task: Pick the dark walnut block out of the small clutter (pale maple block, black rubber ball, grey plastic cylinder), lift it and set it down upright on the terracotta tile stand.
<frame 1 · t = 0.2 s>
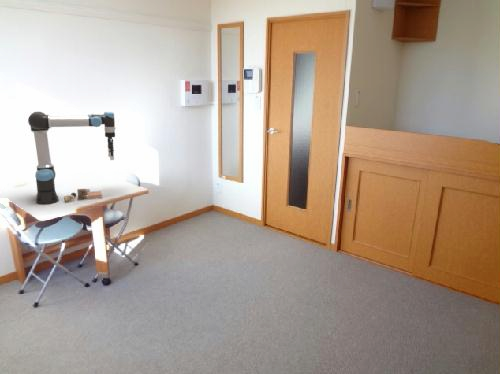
hand: (111, 158, 313), 28 cm above the table, fingers open, 13 cm apart
terracotta stand: (94, 196, 304), on the table
black rubber ball: (73, 194, 301), point 2 cm above the table
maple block: (69, 201, 292), on the table
grey plastic cylinder: (87, 194, 310), on the table
walnut block: (82, 198, 299), on the table
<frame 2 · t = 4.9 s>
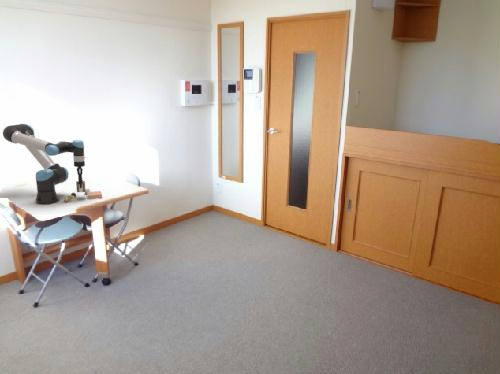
hand: (80, 190, 297), 7 cm above the table, fingers closed on walnut block, 6 cm apart
walnut block: (81, 191, 297), point 6 cm above the table, touching gripper
everything else where it was.
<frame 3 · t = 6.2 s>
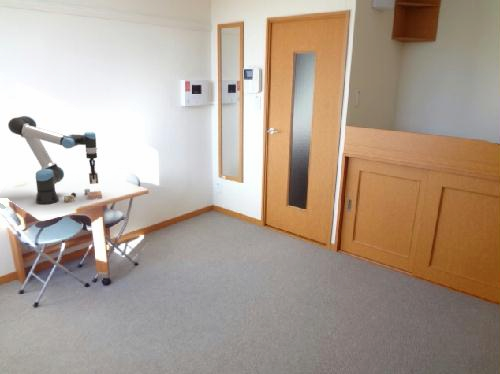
hand: (93, 182, 301), 12 cm above the table, fingers closed on walnut block, 6 cm apart
walnut block: (93, 182, 301), point 12 cm above the table, touching gripper
everything else where it was.
when the fingers open (4 cm above the table, at t = 7.8 s): walnut block stays where it is, resting on terracotta stand.
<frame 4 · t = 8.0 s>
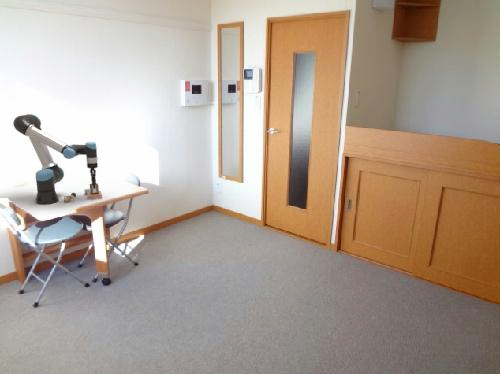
hand: (94, 190, 303), 5 cm above the table, fingers open, 9 cm apart
walnut block: (94, 193, 303), point 3 cm above the table, touching terracotta stand
everything else where it was.
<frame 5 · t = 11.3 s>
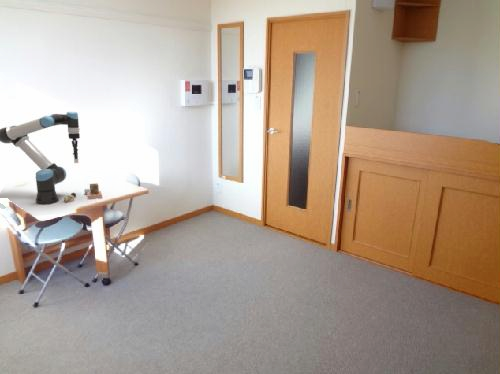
hand: (76, 161, 294), 29 cm above the table, fingers open, 13 cm apart
nothing on the table moved.
at the end: walnut block inside the target area on the terracotta stand (0.1 cm from its centre), point 3.0 cm above the terracotta stand's base; walnut block tilted 0°; the gripper is holding nothing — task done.
